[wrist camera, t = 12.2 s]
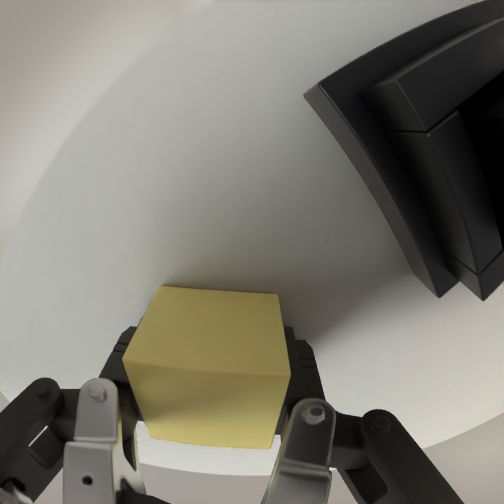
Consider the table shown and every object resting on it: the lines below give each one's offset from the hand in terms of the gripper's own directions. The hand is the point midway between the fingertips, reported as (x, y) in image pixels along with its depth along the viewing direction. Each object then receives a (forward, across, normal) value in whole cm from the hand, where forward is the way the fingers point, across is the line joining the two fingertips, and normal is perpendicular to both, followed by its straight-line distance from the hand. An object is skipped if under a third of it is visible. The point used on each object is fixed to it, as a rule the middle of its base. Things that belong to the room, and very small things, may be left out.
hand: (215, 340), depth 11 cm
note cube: (0, 0, 0) cm, 0 cm away
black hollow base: (0, -10, -11) cm, 15 cm away
